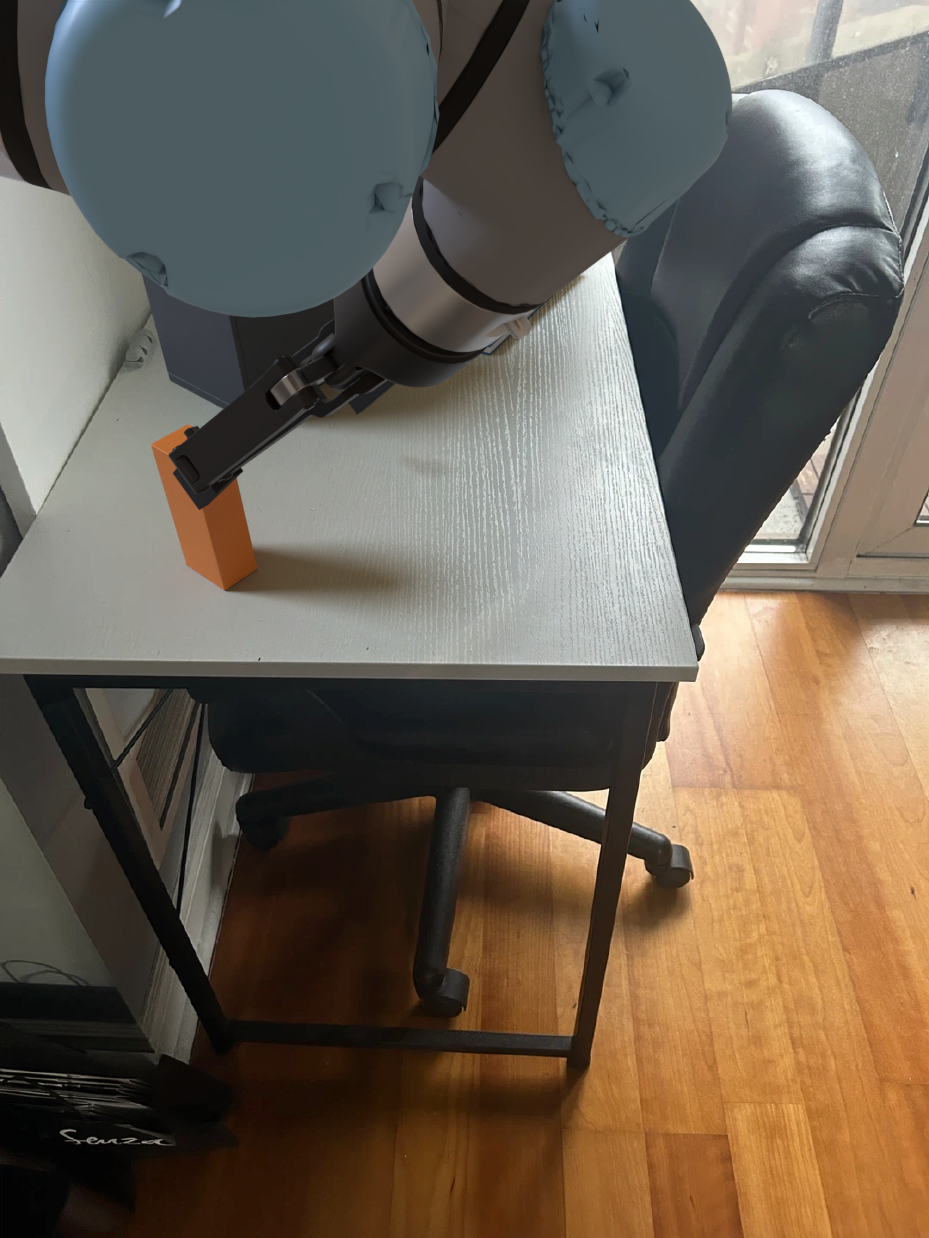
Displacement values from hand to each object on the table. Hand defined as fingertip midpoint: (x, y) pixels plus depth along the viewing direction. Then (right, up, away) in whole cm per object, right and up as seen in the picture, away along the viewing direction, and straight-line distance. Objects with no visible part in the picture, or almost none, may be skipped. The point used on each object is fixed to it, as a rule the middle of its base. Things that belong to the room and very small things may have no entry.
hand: (274, 440), depth 61 cm
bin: (-9, +14, +39) cm, 42 cm away
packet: (-8, -7, +17) cm, 20 cm away
